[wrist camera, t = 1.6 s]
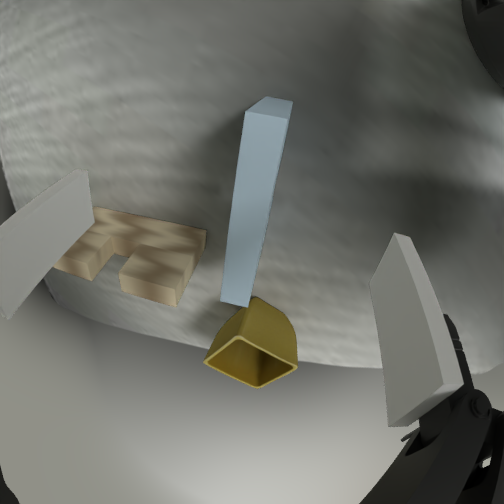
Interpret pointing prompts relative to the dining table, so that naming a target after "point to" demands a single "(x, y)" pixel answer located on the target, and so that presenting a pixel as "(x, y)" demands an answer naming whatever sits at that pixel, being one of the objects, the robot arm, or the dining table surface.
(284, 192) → the dining table surface
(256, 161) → the pale blue upright slab
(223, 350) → the flower pot
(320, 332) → the dining table surface
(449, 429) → the robot arm
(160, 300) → the tan wooden block
